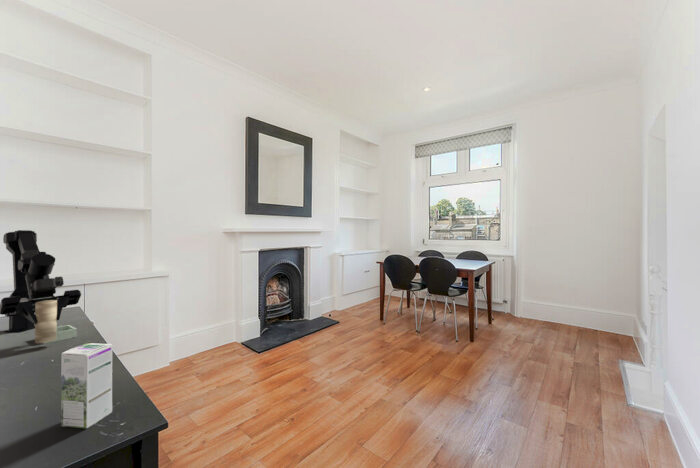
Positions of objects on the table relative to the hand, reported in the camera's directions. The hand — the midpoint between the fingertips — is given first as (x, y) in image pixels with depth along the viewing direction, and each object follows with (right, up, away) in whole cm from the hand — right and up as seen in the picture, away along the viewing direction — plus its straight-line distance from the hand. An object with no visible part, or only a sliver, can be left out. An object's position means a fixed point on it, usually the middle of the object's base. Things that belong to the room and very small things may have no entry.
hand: (47, 321), depth 97 cm
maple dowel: (-1, -7, +1) cm, 7 cm away
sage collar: (-6, -9, +10) cm, 15 cm away
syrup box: (+47, -9, -38) cm, 61 cm away
